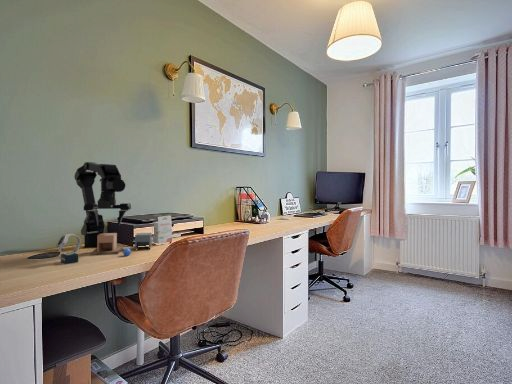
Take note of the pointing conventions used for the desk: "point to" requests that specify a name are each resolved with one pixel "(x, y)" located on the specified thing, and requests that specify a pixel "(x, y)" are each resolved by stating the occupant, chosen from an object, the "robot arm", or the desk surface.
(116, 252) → the walnut mat
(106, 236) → the tan open box
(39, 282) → the desk surface
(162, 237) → the ink cartridge box
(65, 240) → the watch
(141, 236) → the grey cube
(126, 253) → the blue marble
